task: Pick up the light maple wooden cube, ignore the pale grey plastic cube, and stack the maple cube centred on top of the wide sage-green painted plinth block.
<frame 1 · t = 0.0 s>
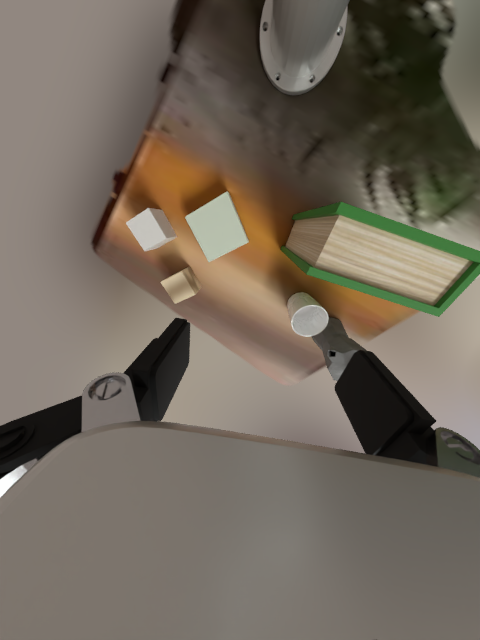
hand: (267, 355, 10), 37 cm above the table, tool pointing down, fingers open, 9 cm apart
base block: (220, 229, 41), on the table
coffeepot: (328, 332, 52), on the table
white cup: (299, 303, 48), on the table
grey cube: (160, 230, 42), on the table
maple cube: (186, 281, 47), on the table
hardback book: (322, 244, 41), on the table
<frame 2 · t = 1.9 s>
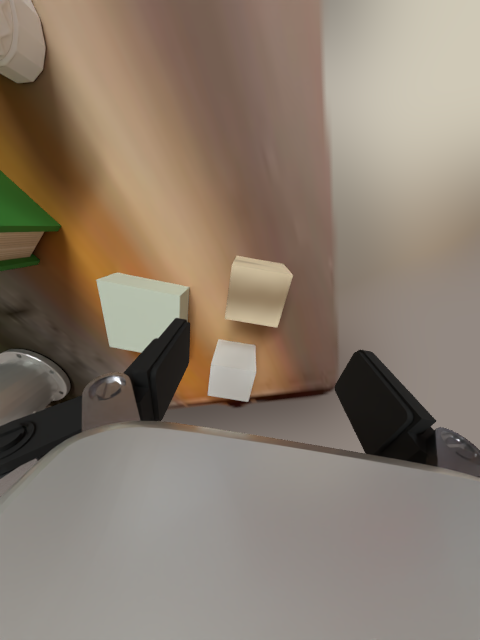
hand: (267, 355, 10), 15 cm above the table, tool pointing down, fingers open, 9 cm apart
base block: (155, 311, 27), on the table
white cup: (7, 27, 15), on the table
grey cube: (234, 356, 30), on the table
maple cube: (255, 282, 24), on the table
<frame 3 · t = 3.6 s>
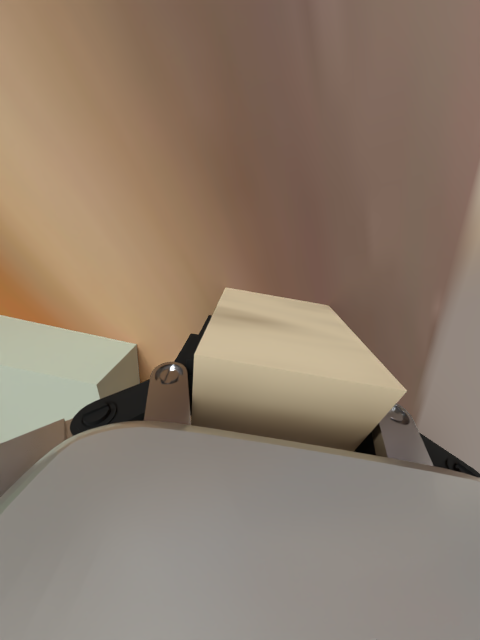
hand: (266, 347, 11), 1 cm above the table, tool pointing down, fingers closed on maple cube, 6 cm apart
base block: (84, 376, 15), on the table
maple cube: (265, 339, 12), on the table, touching gripper
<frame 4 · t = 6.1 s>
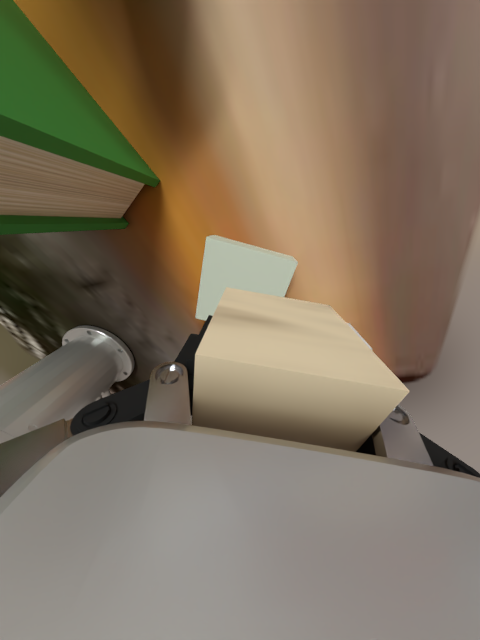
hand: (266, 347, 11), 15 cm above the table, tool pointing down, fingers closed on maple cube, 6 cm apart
base block: (243, 283, 25), on the table
maple cube: (266, 339, 12), point 14 cm above the table, touching gripper
hardback book: (73, 129, 18), on the table
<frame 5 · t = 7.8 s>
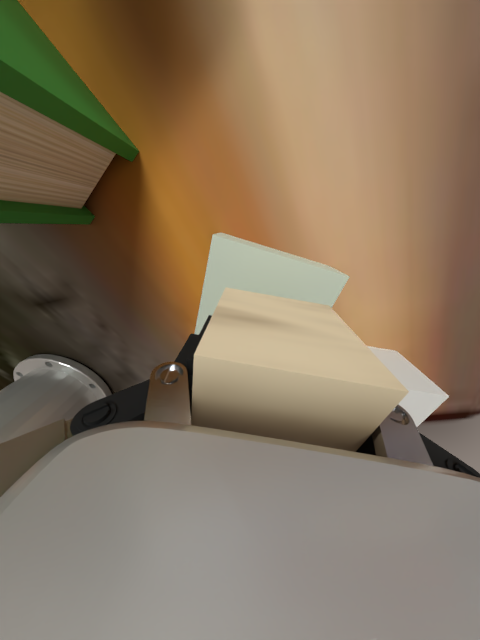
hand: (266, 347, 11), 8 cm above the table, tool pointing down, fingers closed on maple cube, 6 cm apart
base block: (258, 299, 18), on the table
grey cube: (356, 366, 21), on the table
maple cube: (265, 339, 12), point 7 cm above the table, touching gripper
when the fingers open (6 cm above the table, at t = 8.9 s): maple cube drops 2 cm, point 4 cm above the table.
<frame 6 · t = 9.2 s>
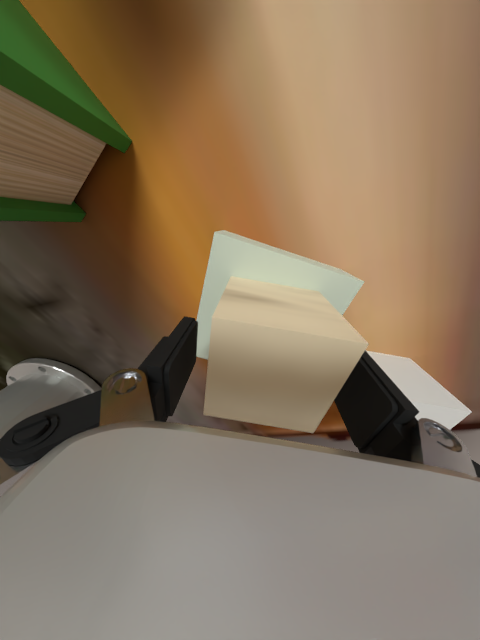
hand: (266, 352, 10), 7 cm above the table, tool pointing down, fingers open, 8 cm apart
base block: (262, 303, 17), on the table
grey cube: (366, 373, 20), on the table
maple cube: (265, 322, 13), point 4 cm above the table
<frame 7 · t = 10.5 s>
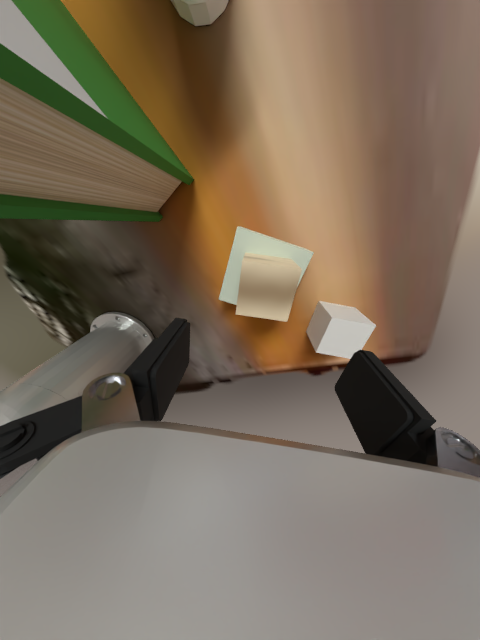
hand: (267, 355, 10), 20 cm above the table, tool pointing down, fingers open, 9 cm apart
base block: (261, 271, 28), on the table
grey cube: (329, 319, 31), on the table
maple cube: (264, 278, 24), point 4 cm above the table
hardback book: (121, 134, 21), on the table
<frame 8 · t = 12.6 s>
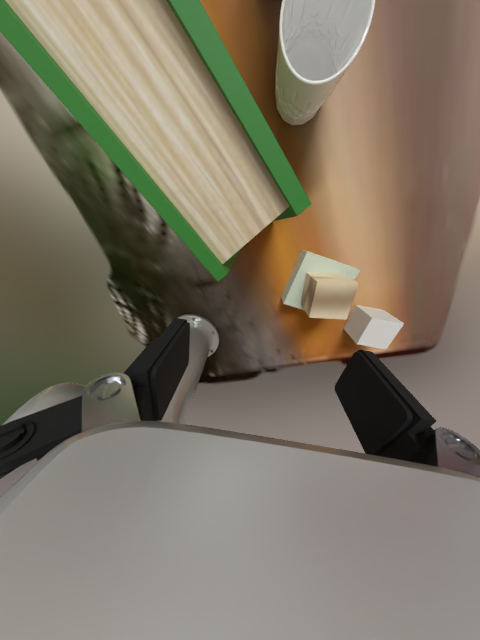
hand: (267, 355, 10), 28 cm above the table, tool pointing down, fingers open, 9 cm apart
base block: (313, 281, 36), on the table
white cup: (299, 92, 24), on the table
grey cube: (362, 319, 39), on the table
maple cube: (319, 289, 33), point 4 cm above the table
hardback book: (224, 187, 30), on the table
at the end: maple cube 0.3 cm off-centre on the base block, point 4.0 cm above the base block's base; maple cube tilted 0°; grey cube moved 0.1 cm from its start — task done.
